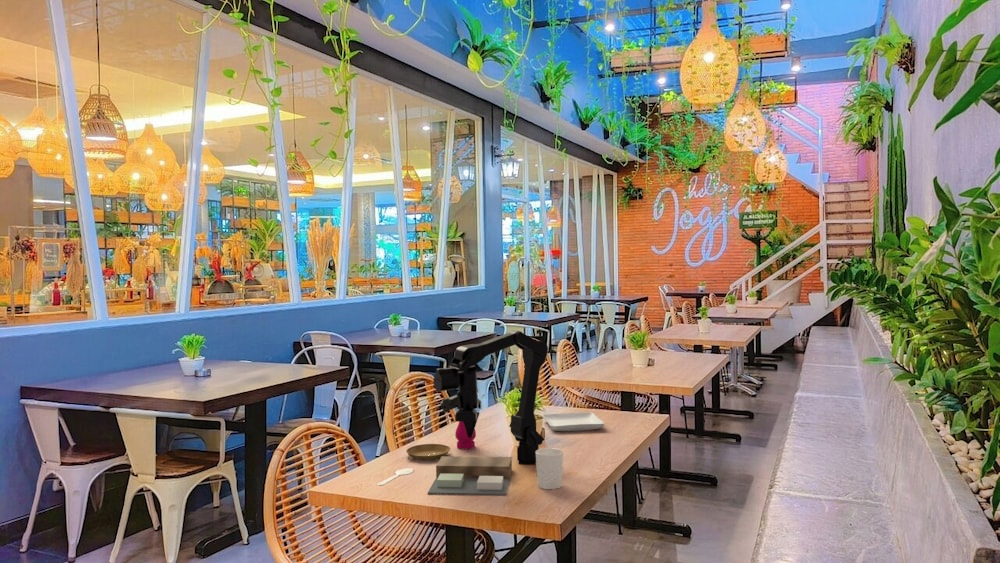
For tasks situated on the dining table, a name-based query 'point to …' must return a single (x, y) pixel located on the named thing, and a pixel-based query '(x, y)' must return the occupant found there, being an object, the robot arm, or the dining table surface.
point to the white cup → (549, 467)
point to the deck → (475, 466)
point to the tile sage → (450, 480)
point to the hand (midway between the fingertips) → (469, 437)
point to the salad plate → (573, 421)
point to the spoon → (399, 472)
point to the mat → (467, 488)
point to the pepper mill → (464, 437)
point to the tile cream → (490, 482)
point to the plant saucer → (428, 452)
